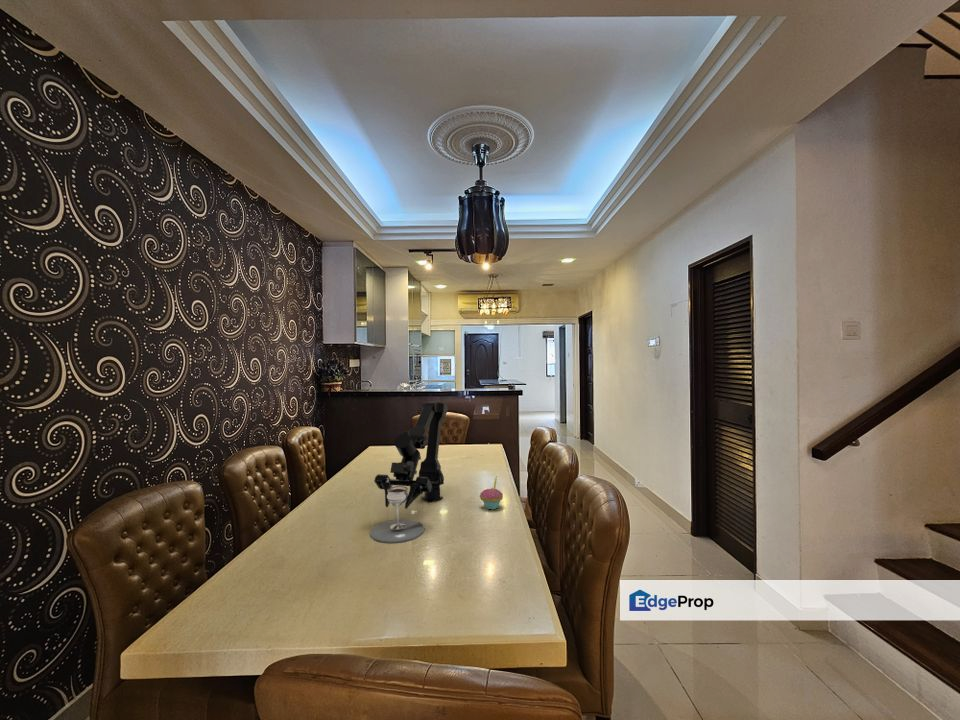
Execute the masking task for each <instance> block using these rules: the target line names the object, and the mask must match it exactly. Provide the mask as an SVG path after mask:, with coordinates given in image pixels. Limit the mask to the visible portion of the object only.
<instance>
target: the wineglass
mask: <svg viewBox="0 0 960 720" xmlns="http://www.w3.org/2000/svg"><path fill="white" fill-rule="evenodd" d="M408 489H409V488H408V486H398V485H395V486H392V487H391V488H389V489H387V491H388V494H387V500H388V502H389V505H391V506H394V507H395V508H396V520H397V524H393V525H391V526H390V528H391V529H395V530H398V529H402V528H405V527H406V525H405V524H402V523H399V520H400V518H399V517H400V516H399V515H400V514H399V513H400V512H399V511H400V507H401V506H402V505H404V504H405V503H406V500H407V497H408V494H409V492H408Z"/></svg>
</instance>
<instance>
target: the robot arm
mask: <svg viewBox="0 0 960 720" xmlns="http://www.w3.org/2000/svg"><path fill="white" fill-rule="evenodd" d="M448 410H449V407H448V404H446V402H445V401H426V402H424V403H422V409H421V412H420V414H419V416H418V418H417V421H416V423H415V425H414V427H412V428H410V429H409V430H408V431H403V432H402V433H401V434H400V435H398V436H397V437H396V438H395V439H394V446H395V448H396V450H397V451H398V454H399V455H400V456H401V457H402V459H401V461H399V462H391V466H390V471H389V473H391V474H393V477H394V478H390V476H389V475H388V474H378V473H377V474H376V475H375V477H374V483H375V485H376V486H377V488H378V489H380V490H384V498H385V499H384V501H385V508H388V507H389V506H390V503H389V502H388V500H387V494H388V491H387V489H389V488H391V487H394V486H403V487H409V492H408V497H407V500H406V502H405V503H404V504H405V505H404V508H405V509H406V510H408V508H409V507H410V506H411V504H412V503H413V502H414V501H415V500H416V499H417V498H418V497H419V496H420V495H423V496H420V498H422V500H424V501H426V500H427V501H426V502H428V501H429V502H428V503H432V501H433V502H435V501H434V500H436V501H439V500H438V499H440V500H442V498H443V499H444V497H443V496H441V487H440V486H442V485H444V484H445V476H444V473H443V472H442V466H441V463H440V461H439V450H440V449H439V448H440V447H439V446H440V439H441V427H442V424H443V422H444V420H445V419H446V417H447V413H448ZM427 432H428V433H427ZM427 434H428V435H427ZM425 448H426V453H425V458H424V459H423V461H421V462H420V468H419V471H417V467H418V464H419V461H420V460H422V457H421V453H420V451H419V450H425ZM417 472H418V476H417V477H416V479H415V475H417ZM414 479H415V480H414Z"/></svg>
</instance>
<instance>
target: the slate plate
mask: <svg viewBox="0 0 960 720" xmlns="http://www.w3.org/2000/svg"><path fill="white" fill-rule="evenodd" d="M399 523H402V524H405V525H406V527H405V528H402V529H398V530H395V529H391V528H390V526H391V525H393V524H397V519H393V520H392V519H391V520H387V521H384V522H380V523H378V524H376V525H375V526H373V527H372V528H371V529H370V537H372V538H373V539H372V538H371V539H372V540H374V541H375V540H376V542H378V541H379V542H378V543H382V542H383V544H401V543H406V542H410V541H413V540H416V539H418V538H419V537H421V536H422V535H424V531H425V525H424V524H423V523H421V522H419V521H418V520H414V519H400V518H399Z"/></svg>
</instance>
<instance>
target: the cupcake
mask: <svg viewBox="0 0 960 720" xmlns="http://www.w3.org/2000/svg"><path fill="white" fill-rule="evenodd" d="M497 477H498V476H496V477H495V478H494V483H493V487H491V488H487V489H484V490H483V491H481V492H480V495H479V499H480V500H481V501H482V502H483V505H484V508H485V509H486V508H487V509H496V508H498V509H499V506H500V503H501V501H502V500H503V497H504V496H503V492H501V490H498V489H497V488H496V487H497V480H498V479H497ZM487 509H486V510H487ZM496 510H497V509H496Z"/></svg>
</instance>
